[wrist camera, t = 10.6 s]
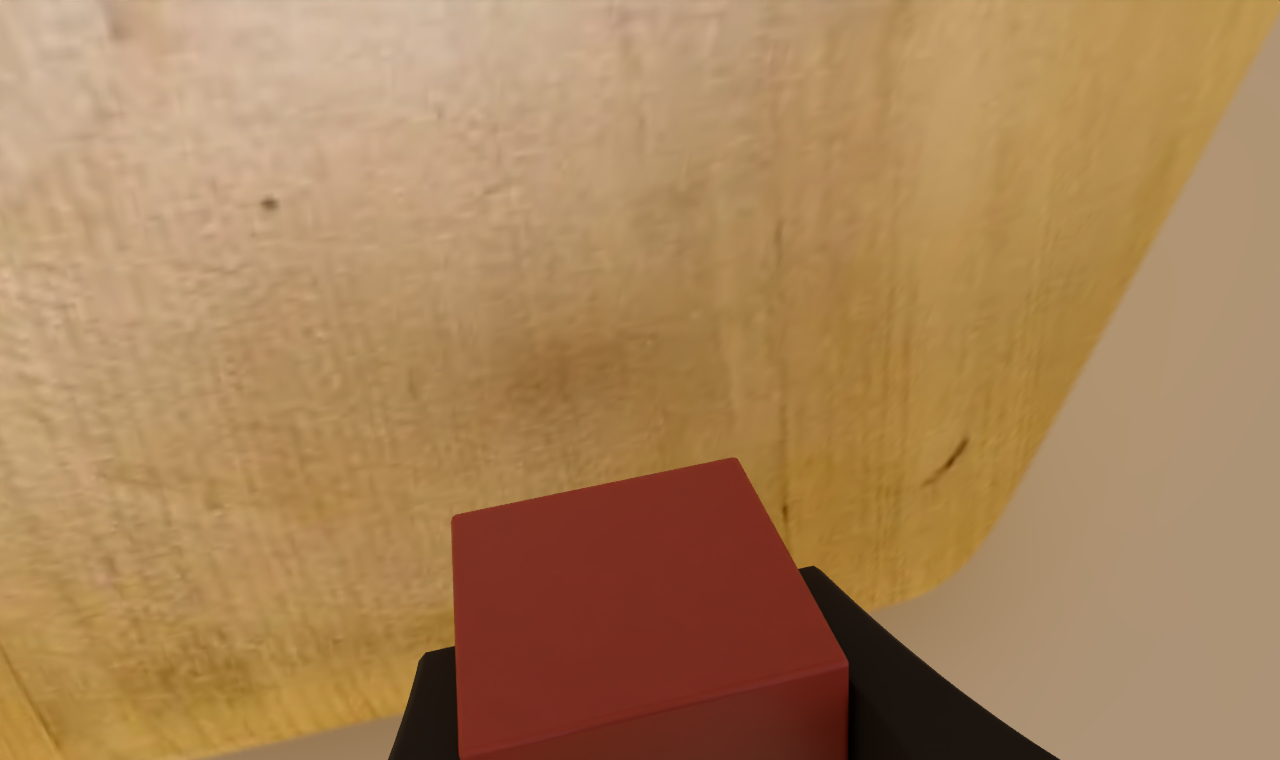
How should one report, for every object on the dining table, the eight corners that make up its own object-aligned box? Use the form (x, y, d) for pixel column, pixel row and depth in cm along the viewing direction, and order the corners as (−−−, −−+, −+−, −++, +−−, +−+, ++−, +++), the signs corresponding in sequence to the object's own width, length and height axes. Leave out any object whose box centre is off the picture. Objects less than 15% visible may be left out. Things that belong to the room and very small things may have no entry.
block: (737, 454, 13) (852, 661, 9) (751, 661, 15) (850, 897, 11) (449, 513, 12) (457, 756, 9) (503, 719, 14) (526, 986, 11)
